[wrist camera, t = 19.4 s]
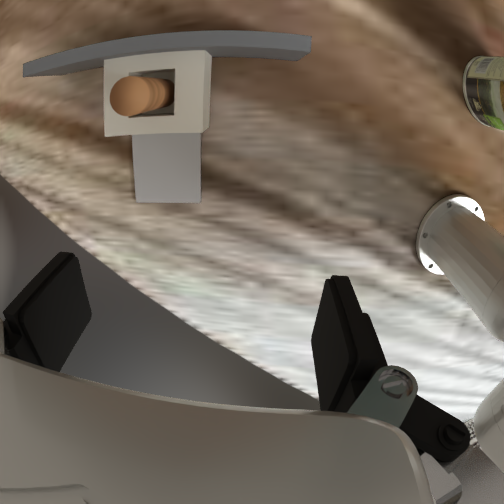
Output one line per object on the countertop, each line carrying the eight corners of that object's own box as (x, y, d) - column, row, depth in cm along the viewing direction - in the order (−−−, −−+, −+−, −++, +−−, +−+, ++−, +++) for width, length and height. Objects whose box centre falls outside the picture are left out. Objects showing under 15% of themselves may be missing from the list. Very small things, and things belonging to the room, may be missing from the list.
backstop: (297, 48, 28) (311, 36, 21) (285, 205, 37) (294, 234, 30) (62, 64, 27) (23, 63, 20) (71, 201, 36) (39, 227, 29)
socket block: (211, 56, 28) (205, 50, 23) (209, 127, 31) (202, 132, 27) (123, 62, 27) (104, 59, 23) (123, 129, 31) (104, 136, 27)
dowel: (177, 77, 28) (148, 73, 19) (177, 106, 29) (148, 114, 21) (148, 79, 28) (109, 78, 19) (148, 108, 29) (110, 118, 20)
